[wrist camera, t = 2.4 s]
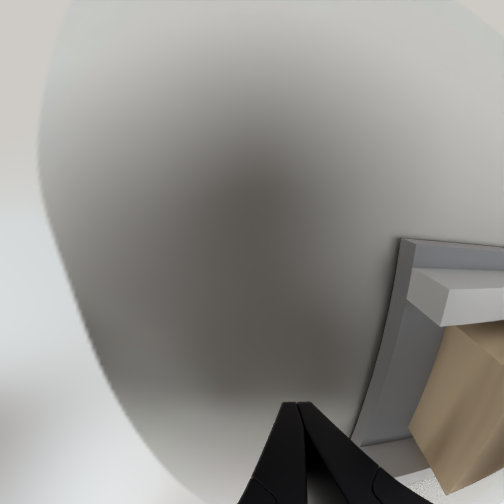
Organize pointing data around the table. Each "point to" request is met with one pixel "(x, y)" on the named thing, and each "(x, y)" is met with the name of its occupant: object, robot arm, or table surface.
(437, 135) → the table surface
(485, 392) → the tan block
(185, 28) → the table surface
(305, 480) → the robot arm
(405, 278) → the channel
